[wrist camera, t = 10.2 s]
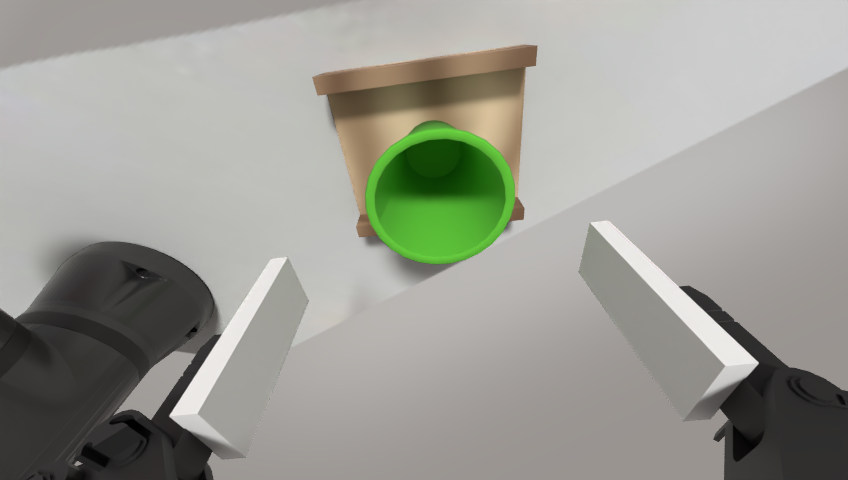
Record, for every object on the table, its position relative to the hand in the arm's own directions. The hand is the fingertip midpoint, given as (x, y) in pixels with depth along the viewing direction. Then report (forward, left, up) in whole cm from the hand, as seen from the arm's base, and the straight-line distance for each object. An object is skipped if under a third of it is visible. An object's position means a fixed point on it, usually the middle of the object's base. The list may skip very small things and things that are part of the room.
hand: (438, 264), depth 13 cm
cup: (0, 0, -17) cm, 17 cm away
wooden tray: (0, 0, -17) cm, 17 cm away
